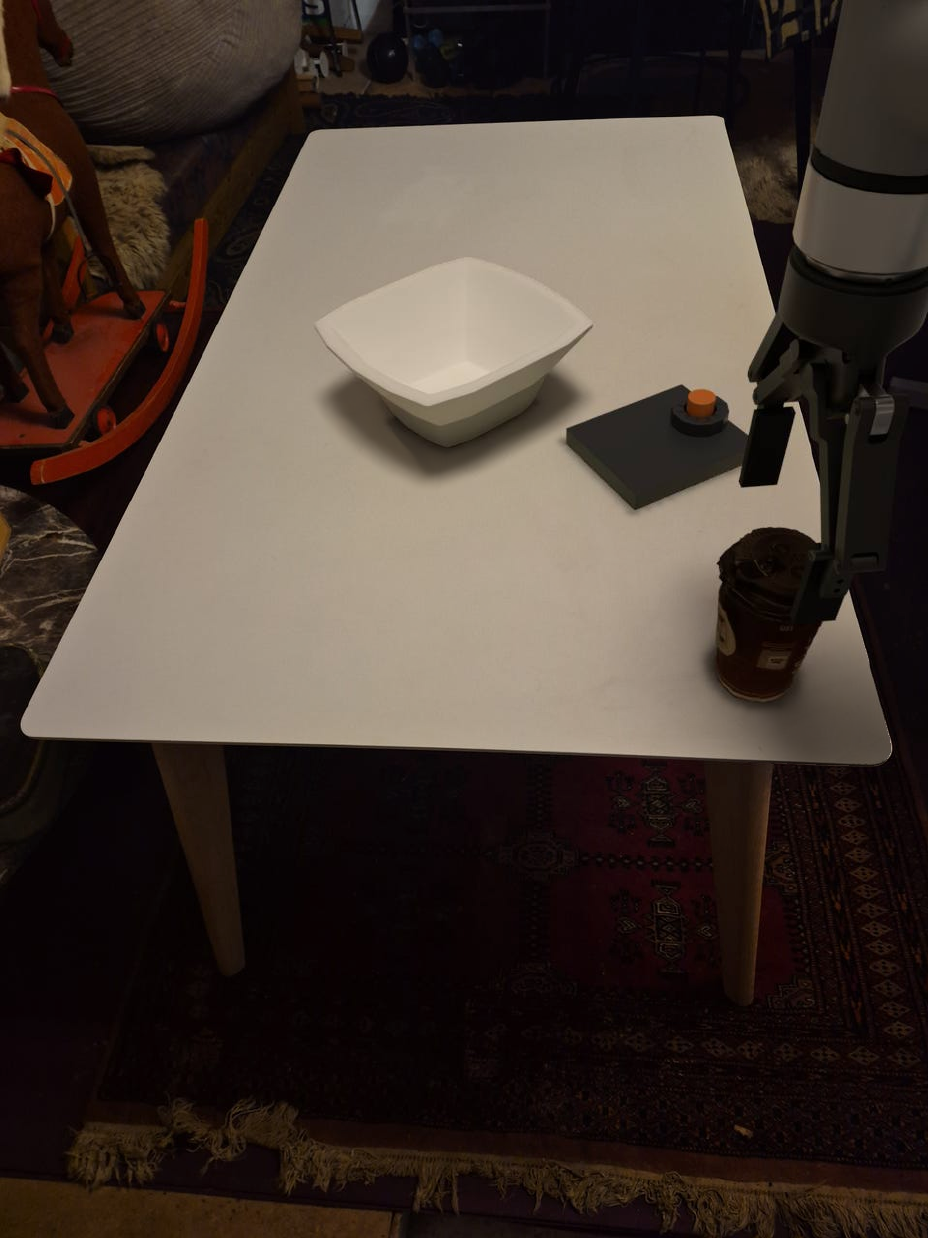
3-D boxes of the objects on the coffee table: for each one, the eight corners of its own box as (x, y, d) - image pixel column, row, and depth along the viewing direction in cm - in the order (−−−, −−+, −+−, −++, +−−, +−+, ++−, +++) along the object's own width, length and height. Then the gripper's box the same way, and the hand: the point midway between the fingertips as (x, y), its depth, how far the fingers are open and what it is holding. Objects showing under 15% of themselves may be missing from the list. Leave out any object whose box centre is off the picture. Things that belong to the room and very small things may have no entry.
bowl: (610, 402, 97) (614, 319, 89) (431, 501, 88) (419, 417, 80) (479, 324, 111) (473, 246, 103) (313, 402, 102) (293, 323, 94)
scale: (681, 397, 97) (684, 370, 94) (757, 458, 89) (764, 430, 86) (565, 442, 93) (566, 415, 90) (634, 509, 85) (637, 482, 82)
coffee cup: (687, 695, 69) (708, 584, 60) (708, 622, 74) (731, 508, 65) (799, 725, 67) (840, 613, 57) (813, 647, 72) (853, 532, 62)
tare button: (702, 399, 91) (704, 385, 89) (719, 412, 89) (721, 398, 88) (680, 408, 90) (682, 394, 89) (697, 421, 88) (699, 407, 87)
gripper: (1060, 378, 36) (903, 683, 52) (858, 149, 52) (786, 433, 68) (879, 393, 36) (778, 692, 52) (735, 160, 53) (692, 441, 69)
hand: (783, 545), depth 60 cm, fingers open, 13 cm apart
